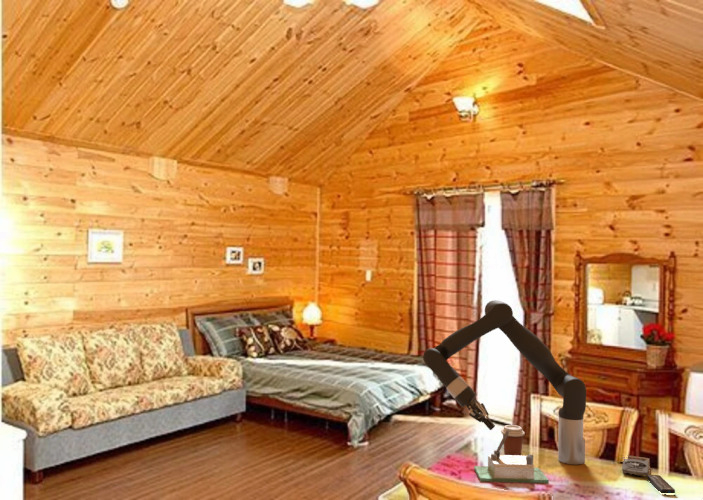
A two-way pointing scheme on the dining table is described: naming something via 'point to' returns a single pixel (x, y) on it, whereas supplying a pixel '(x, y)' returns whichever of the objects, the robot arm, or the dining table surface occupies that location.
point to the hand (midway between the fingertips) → (492, 428)
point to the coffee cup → (513, 440)
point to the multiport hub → (660, 484)
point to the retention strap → (502, 442)
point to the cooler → (510, 469)
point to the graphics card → (636, 466)
